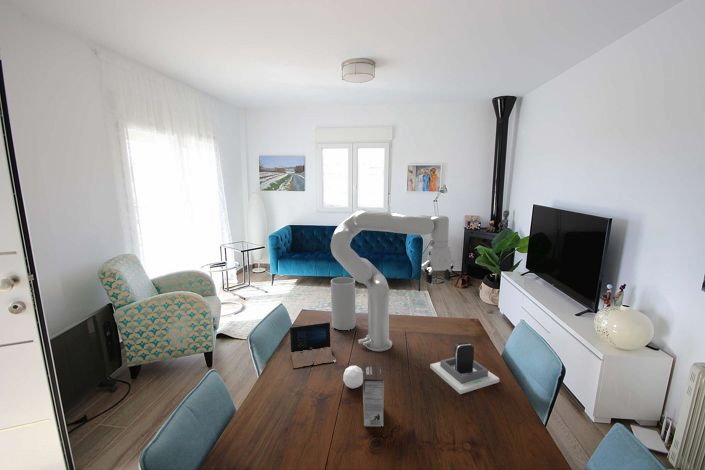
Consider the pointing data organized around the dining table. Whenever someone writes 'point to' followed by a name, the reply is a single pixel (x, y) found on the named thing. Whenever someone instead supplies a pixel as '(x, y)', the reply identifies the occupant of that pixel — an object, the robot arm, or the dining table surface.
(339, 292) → the cylinder vase
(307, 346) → the laptop
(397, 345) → the dining table surface
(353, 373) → the geometric ball
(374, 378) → the coffee box
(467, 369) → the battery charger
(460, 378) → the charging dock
